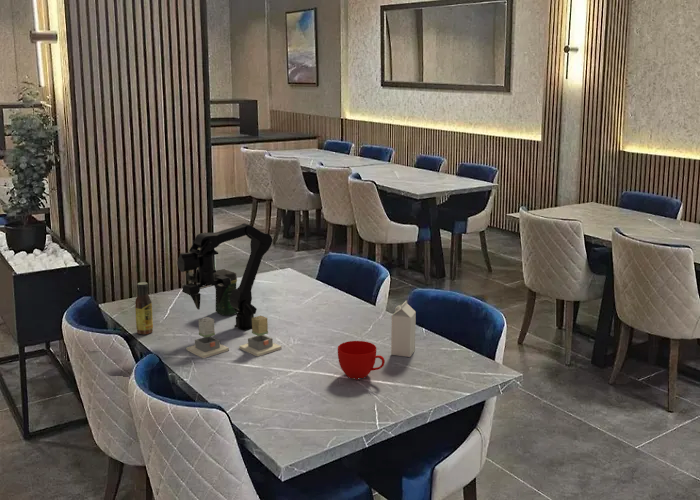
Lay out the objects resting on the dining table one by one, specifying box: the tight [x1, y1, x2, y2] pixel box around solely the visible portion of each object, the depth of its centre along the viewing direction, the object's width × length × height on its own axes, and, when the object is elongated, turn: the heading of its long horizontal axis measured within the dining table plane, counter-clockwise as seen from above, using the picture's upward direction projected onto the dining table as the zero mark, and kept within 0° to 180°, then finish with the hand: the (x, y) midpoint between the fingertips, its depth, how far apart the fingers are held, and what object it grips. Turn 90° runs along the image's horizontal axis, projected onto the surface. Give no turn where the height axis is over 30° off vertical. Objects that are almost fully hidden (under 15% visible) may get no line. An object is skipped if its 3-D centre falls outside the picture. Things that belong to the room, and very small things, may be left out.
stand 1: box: [185, 336, 230, 359], centre depth 272 cm, size 11×11×4 cm
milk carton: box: [390, 300, 417, 358], centre depth 269 cm, size 7×7×19 cm
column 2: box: [251, 315, 269, 336], centre depth 273 cm, size 4×4×6 cm
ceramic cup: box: [337, 340, 386, 380], centre depth 249 cm, size 13×17×10 cm
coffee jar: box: [214, 268, 238, 317], centre depth 313 cm, size 10×8×19 cm
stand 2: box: [238, 334, 282, 357], centre depth 274 cm, size 11×11×4 cm
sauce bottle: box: [134, 281, 154, 335], centre depth 289 cm, size 7×6×20 cm
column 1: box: [197, 316, 216, 338], centre depth 271 cm, size 4×4×6 cm
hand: (208, 306), depth 285 cm, fingers open, 9 cm apart
